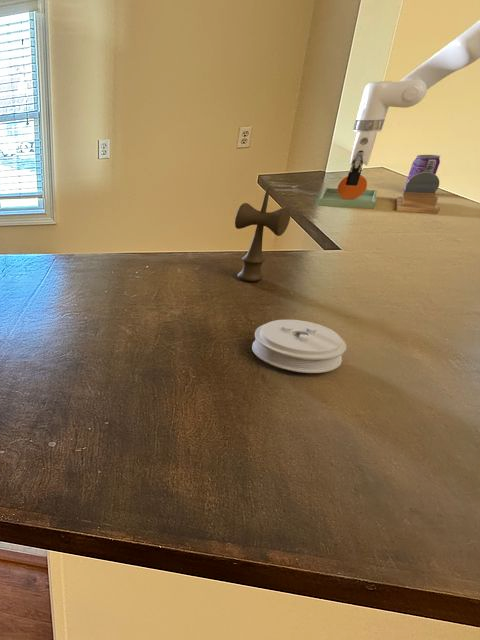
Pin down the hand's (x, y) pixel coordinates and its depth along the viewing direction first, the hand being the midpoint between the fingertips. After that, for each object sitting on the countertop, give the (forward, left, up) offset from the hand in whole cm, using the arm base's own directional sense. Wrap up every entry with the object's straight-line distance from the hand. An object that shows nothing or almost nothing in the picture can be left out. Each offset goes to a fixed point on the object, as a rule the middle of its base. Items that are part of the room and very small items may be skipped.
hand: (352, 182), depth 160 cm
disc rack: (-17, +8, -6) cm, 20 cm away
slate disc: (-18, +4, 0) cm, 19 cm away
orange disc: (0, 0, -1) cm, 1 cm away
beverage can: (-23, -13, -6) cm, 27 cm away
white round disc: (+32, +119, -6) cm, 123 cm away
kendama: (+36, +83, -6) cm, 91 cm away
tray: (0, 0, -6) cm, 6 cm away
